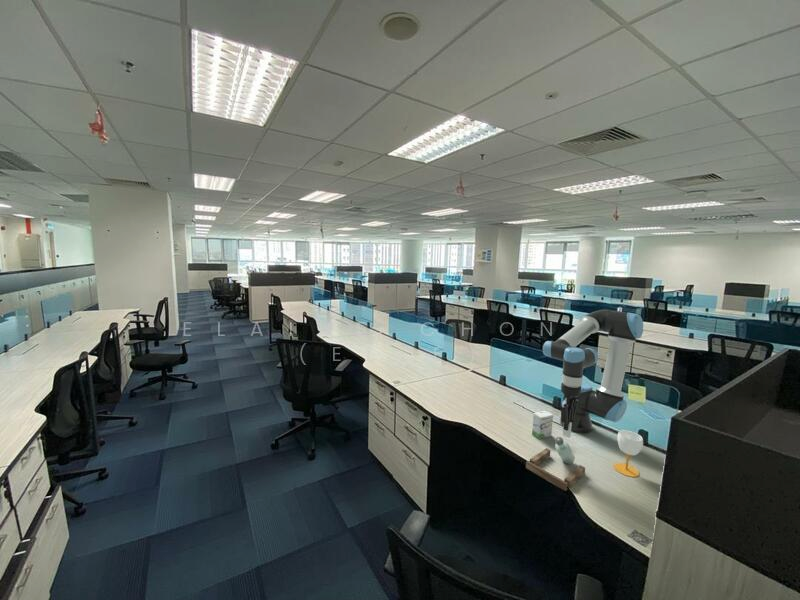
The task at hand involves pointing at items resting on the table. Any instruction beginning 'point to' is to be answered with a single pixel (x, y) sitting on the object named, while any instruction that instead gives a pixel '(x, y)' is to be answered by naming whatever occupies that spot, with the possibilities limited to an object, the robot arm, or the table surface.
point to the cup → (628, 451)
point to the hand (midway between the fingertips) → (566, 435)
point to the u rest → (548, 476)
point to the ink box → (542, 424)
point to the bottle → (564, 451)
